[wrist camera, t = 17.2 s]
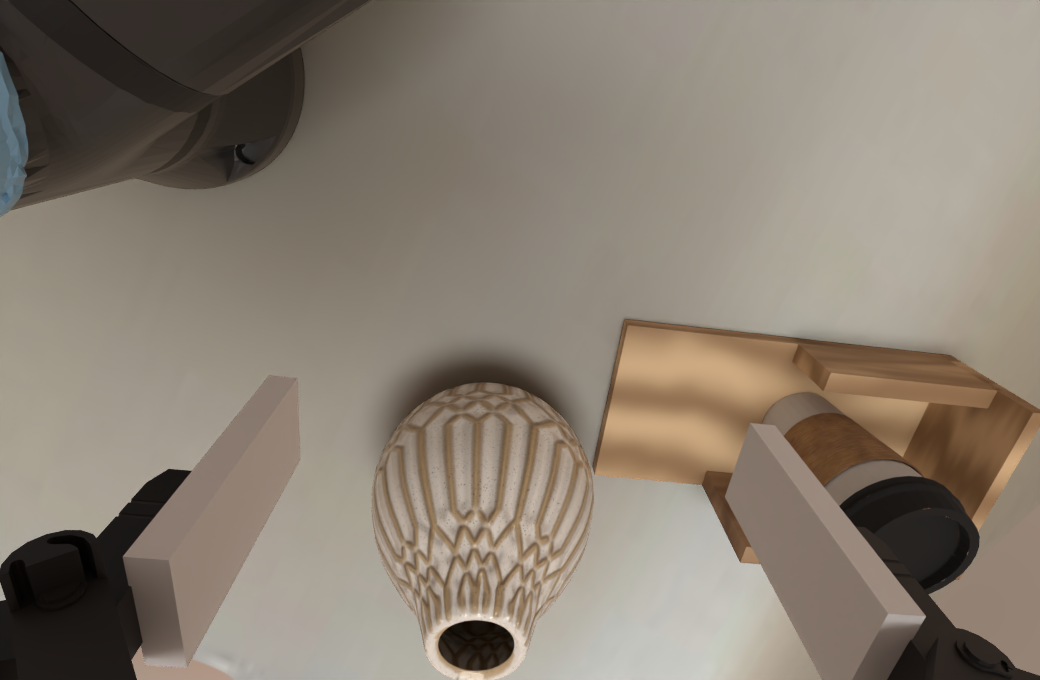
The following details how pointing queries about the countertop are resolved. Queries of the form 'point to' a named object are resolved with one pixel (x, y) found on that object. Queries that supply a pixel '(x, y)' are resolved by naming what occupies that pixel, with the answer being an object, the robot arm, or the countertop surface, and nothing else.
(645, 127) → the countertop surface
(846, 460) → the coffee cup
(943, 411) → the shelf
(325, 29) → the robot arm
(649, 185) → the countertop surface
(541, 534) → the vase
